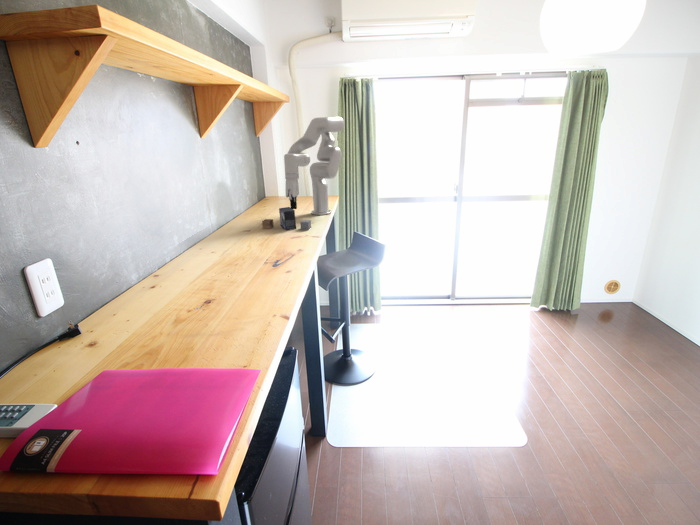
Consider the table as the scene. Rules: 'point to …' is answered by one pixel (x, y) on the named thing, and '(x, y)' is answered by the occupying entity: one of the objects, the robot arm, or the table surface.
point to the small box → (287, 218)
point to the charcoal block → (305, 224)
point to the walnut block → (267, 223)
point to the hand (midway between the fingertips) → (293, 208)
